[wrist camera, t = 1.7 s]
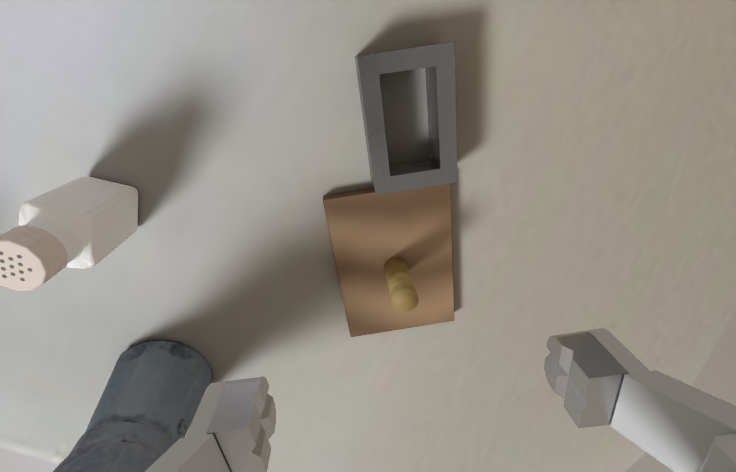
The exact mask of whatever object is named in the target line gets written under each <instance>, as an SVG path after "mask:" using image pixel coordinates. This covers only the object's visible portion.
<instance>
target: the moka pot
mask: <svg viewBox="0 0 736 472" xmlns="http://www.w3.org/2000/svg"><path fill="white" fill-rule="evenodd" d="M212 380H213V376H212V371H211V369H210V366H209V364H208V363H207V361H206V359H205V358H204V357H203V356H202V355H200V354H199V353H198V352H196V351H195V350H193V349H192V348H190V347H187V346H185V345H183V344H180V343H176V342H169V341H160V340H158V341H149V342H144V343H141V344H139V345H136V346H134V347H132V348H130V349H128V350H126V351H125V352H123V353H122V354H121V355H120V357H119V359H118V361H117V363H116V365H115V367H114V370H113V372H112V374H111V377H110V379H109V381H108V383H107V386H106V388H105V390H104V392H103V394H102V397H101V399H100V401H99V403H98V405H97V408H96V410H95V412H94V414H93V416H92V418H91V421H90V423H89V425H88V427H87V430H86V432H85V434H84V435H83V436H82V437H81V438H80V439H79V441H78V442H77V444H76V445H75V447H74V448H73V450H72V451H71V453H70V455H69V456H68V457H67V458H66V459H65V460H64V461H63V462H62V463H61V464H60V465H59V466H58V467H57V468H56V469H55V470H54V471H53V472H145V471H146V470H147V469H148V468H149V467H150V466H151V465H152V464H153V463H154V462H155V461H156V460H158V459H159V458H160V457H161V456H162V455H163V454H164V453H165V452H166V451H167V450H168V449H169V448H170V447H171V446H172V445H173V444H174V443H175V442H177V441H178V440H179V439H180V438H184V437H185V435H186V433H187V431H188V429H189V427H190V425H191V423H192V421H193V419H194V416H195V414H196V412H197V409H198V407H199V405H200V402H201V400H202V397H203V395H204V393H205V390H206V388H207V387H208V386H209V385H210V384H211V383H212Z"/></svg>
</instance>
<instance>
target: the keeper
mask: <svg viewBox="0 0 736 472" xmlns="http://www.w3.org/2000/svg"><path fill="white" fill-rule="evenodd" d="M323 203H324V208H325V213H326V218H327V223H328V227H329V232H330V237H331V242H332V247H333V252H334V257H335V262H336V267H337V272H338V276H339V281H340V286H341V291H342V296H343V301H344V306H345V311H346V316H347V321H348V325H349V330H350V335H351V337H354V336H361V335H367V334H373V333H379V332H386V331H392V330H398V329H405V328H411V327H417V326H424V325H430V324H436V323H442V322H449V321H454V295H453V264H452V232H451V200H450V184H443V185H437V186H430V187H424V188H417V189H411V190H404V191H398V192H391V193H385V194H378V195H375V191H374V188H372V189H365V190H359V191H352V192H346V193H339V194H333V195H326V196H323Z"/></svg>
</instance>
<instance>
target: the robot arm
mask: <svg viewBox="0 0 736 472" xmlns="http://www.w3.org/2000/svg"><path fill="white" fill-rule="evenodd" d="M547 348H548V350H549V351H550V352H551V353H550V354H549V355H548V356H547V357H546V358H545V364H544V369H545V374H546V378H547V380H548V382H549V385H550V386H551V388H552V389H553V391H554V392H555V393H556V394H558V395H559V396H561V397H563V398H564V399H565V400H564V407H565V409H566V410H567V412H568V413H569V415H570V416H571V418H572V419H573V421H574V422H575V424H576V425H577V427H578V428H585V427H593V426H602V425H611V427H612V428H614V429H615V430H616V431H618V432H619V433H621V434H622V435H624V436H625V437H626V438H628V439H629V440H631V441H632V442H633V443H635V444H636V445H638V446H639V447H640V448H642V449H643V450H645V451H646V452H648V453H649V454H650V455H652V456H653V457H654V458H656V459H657V460H659V461H660V462H662V463H663V464H664V465H666V466H667V467H669V468H670V469H671V470H673V471H674V472H736V406H734V405H732V404H730V403H728V402H725V401H723V400H721V399H719V398H717V397H714V396H712V395H710V394H708V393H705V392H703V391H701V390H699V389H696V388H694V387H692V386H690V385H688V384H685V383H683V382H681V381H679V380H676V379H674V378H672V377H670V376H667V375H665V374H663V373H661V372H658V371H656V370H654V371H650V370H649V369H648V368H647V367H646V366H644V365H643V364H642V363H641V362H640V361H639V360H638V359H637V358H636V357H635V356H634V355H633V354H632V353H631V352H630V351H629V350H628V349H627V348H626V347H625V346H624V345H623V344H622V343H621V342H620V341H618V340H617V339H616V338H615V337H614V336H613V335H612V334H611V333H610V332H609V331H608V330H606V329H604V328H601V329H595V330H588V331H581V332H575V333H568V334H562V335H555V336H550V337H549V339H548V341H547ZM268 388H269V385H268V382H267V379H266V378H265V377H258V378H249V379H240V380H232V381H226V382H218V383H211V384H210V385H209V386H208V387H207V388H206V390H205V393H204V395H203V397H202V400H201V402H200V405H199V407H198V409H197V412H196V414H195V416H194V419H193V421H192V423H191V426H190V428H189V430H188V433H187V435H186V437H184V438H180V439H179V440H178V441H177V442H175V443H174V444H173V445H172V446H171V447H170V448H169V449H168V450H167V451H166V452H165V453H164V454H163V455H162V456H161V457H160V458H159V459H158V460H156V461H155V462H154V463H153V464H152V465H151V466H150V467H149V468H148V469H147V470H146V471H145V472H267V468H268V463H269V457H270V452H271V447H270V444H269V441H268V439H269V438H270V437H271V436H272V435H273V433H274V430H275V424H276V409H275V403H274V400H273V397H272V396H270V395H269V394H267V393H268Z"/></svg>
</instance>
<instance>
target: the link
mask: <svg viewBox="0 0 736 472" xmlns="http://www.w3.org/2000/svg"><path fill="white" fill-rule="evenodd" d="M355 60H356V68H357V75H358V83H359V90H360V98H361V105H362V113H363V120H364V127H365V135H366V142H367V150H368V157H369V165H370V172H371V179H372V184H373V188H374V191H375V195H378V194H385V193H391V192H398V191H404V190H411V189H417V188H424V187H430V186H437V185H443V184H450V183H456V182H458V178H457V131H456V84H455V41H454V42H447V43H440V44H434V45H427V46H420V47H414V48H407V49H400V50H394V51H387V52H380V53H374V54H367V55H360V56H356V57H355ZM419 68H426V86H427V104H428V123H429V141H430V159H424V160H417V161H410V162H404V163H397V164H391V165H389V160H388V151H387V142H386V133H385V124H384V115H383V106H382V96H381V87H380V78H379V75H380V74H386V73H393V72H399V71H406V70H413V69H419Z"/></svg>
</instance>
